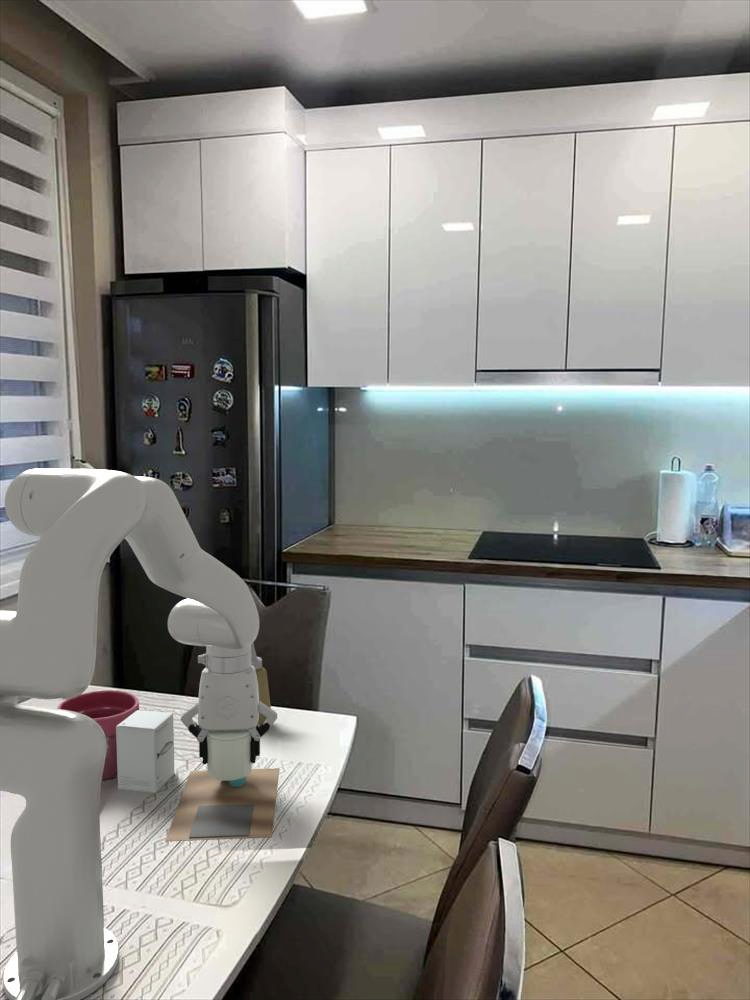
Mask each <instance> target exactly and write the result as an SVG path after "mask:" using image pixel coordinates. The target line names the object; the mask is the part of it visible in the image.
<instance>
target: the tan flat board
mask: <svg viewBox="0 0 750 1000" xmlns="http://www.w3.org/2000/svg"><path fill="white" fill-rule="evenodd" d="M279 775H280V768H279V767H278V768H277V767H275V768H252V772H251V773H250V774H248V775H247V776H246V781H245V783H244V784H243V785H242V786H241V787H233V786H232V785H231V784H230V783H229V781H221V780H217V779H213V778H211V777H210V776H209V775H208V774H207V770H190V771H189V774H188V777H187V780H186V782H185V784H184V788H183V791H182V793H181V796H180V798H179V801H178V803H177V807H176V810H175V812H174V815H173V818H172V820H171V824H170V826H169V829H168V832H167V834H166V837H165V842H182V841H184V842H185V841H187V842H188V841H209V840H210V841H211V840H212V841H214V840H228V839H229V840H234V839H235V840H237V839H260V838H261V839H262V838H263V839H264V838H273V837H272V836H273V828H274V818H275V810H276V803H277V802H276V800H277V794H278V793H277V792H278V783H279Z"/></svg>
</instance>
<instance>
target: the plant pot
mask: <svg viewBox="0 0 750 1000" xmlns="http://www.w3.org/2000/svg"><path fill="white" fill-rule="evenodd" d="M56 709H62V710H69V711H73V712H77V713H80V714H83V715H86V716H88V717H90V718H92V719H93V720H94V721H96V722H97V723H98V724H99V725H100V727H101V728H102V730H103V732H104V734H105V738H106V757H105V763H104V769H103V774H102V781H106V780H111V779H113V778H114V777H118V772H117V741H116V726H117V725H119V724H120V723H121V722H122V721H124V720H125V719H126V718H128V717H129V716H130V715H132V714H133V713H134V712H135V711H137V710H140V701H139V698H138V697H137V696H136V695H135V694H133V693H131V692H129V691H128V692H127V691H125V690H124V691H122V690H117V689H116V690H115V689H114V690H113V689H112V690H111V689H109V690H107V689H106V690H103V689H102V690H94V691H88V692H85V693H84V692H83V693H82V694H80V695H78V696H76V697H74V698H71V699H66V700H62V701H61V702H60V703H59V704H58V706H57V707H56ZM102 781H101V782H102Z"/></svg>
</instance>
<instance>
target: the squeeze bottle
mask: <svg viewBox="0 0 750 1000" xmlns="http://www.w3.org/2000/svg"><path fill="white" fill-rule="evenodd" d="M251 665H252V666H254V667H255V671H256V675H257V681H258V690H259V701H261V702H262V703H264V704H265V705H266V706H268V707H269V708H271V709H272V705H271V700H270V689H269V681H268V671H267V670H266V668H265V667H263V659H262V657H260V656H257V652H256V649H255V644H254V642H253V643H252V644H251ZM266 719H267V717H266V716H265V715H263V714H262V713H260V712H259V720H258V725H259V726H260V725H261V724H262V723H263V722H264V721H266Z"/></svg>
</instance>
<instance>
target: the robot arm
mask: <svg viewBox="0 0 750 1000" xmlns="http://www.w3.org/2000/svg"><path fill="white" fill-rule="evenodd" d="M179 502H180V501H178V499H177V496H176V495H175V493H174V491H173V490H172V488H171V487H170V486H169V484H167V483H166V482H165V481H163V480H161V479H159V478H156V477H155V478H154V477H150V476H136V475H132V474H130V473H127V472H123V471H119V470H112V469H110V470H109V469H96V468H95V469H93V468H90V469H89V468H52V467H51V468H49V467H48V468H37V467H36V468H32V469H27V470H25V471H23V472H20V473H18V475H17V476H16V477H14V479H12V481H11V482H10V484H9V485H8V487H7V490H6V491H5V496H4V508H5V509H4V510H5V513H6V515H7V518H8V520H9V522H10V523H11V524H12V525H13V526H14V527H15V528H16V529H17V530H18V531H20V532H21V533H22V534H26V535H28V536H34V537H40V538H39V539H38V540H37V541H36V542H35V543H34V545H33V547H32V548H31V549H30V551H29V553H28V555H26V558H25V560H24V562H23V565H22V567H21V570H20V571H21V572H20V575H19V582H18V583H19V585H18V592H17V593H18V594H17V604H16V611H15V610H0V791H1V792H5V793H10V794H14V795H18V796H22V797H23V798H24V799H25V807H24V809H23V811H22V812H21V814H20V815H19V817H18V818H17V820H16V821H15V823H14V825H13V827H12V830H11V834H10V857H11V869H12V870H11V874H12V890H13V892H12V893H13V907H14V908H13V909H14V926H15V944H16V945H15V946H16V948H15V949H16V952H15V953H14V954H13V955H12V956H11V958H10V959H9V961H8V962H7V964H6V966H5V968H4V971H3V977H2V978H3V979H2V985H3V992H4V994H5V996H6V998H7V999H8V1000H82V999H84V998H86V997H88V996H89V995H91V994H93V993H94V992H96V991H97V990H98V989H99V988H100V987H102V986H104V984H105V983H106V982H107V980H109V978H111V976H112V975H113V974H114V971H115V970H116V968H117V965H118V963H119V957H120V949H119V948H120V947H119V942H118V940H117V937H116V936H115V935H114V934H113V933H112V932H111V930H108V929H107V928H105V915H104V891H103V868H102V867H103V865H102V842H101V841H102V840H101V819H100V818H101V813H100V809H101V808H100V805H101V789H102V774H103V769H104V763H105V757H106V738H105V734H104V732H103V730H102V728H101V727H100V725H99V724H98V723H97V722H96V721H94V720H93V719H92V718H90V717H88V716H86V715H83V714H80V713H77V712H73V711H69V710H62V709H57V708H53V707H46V706H37V705H36V706H35V705H27V704H20V703H18V702H19V701H18V700H19V697H20V698H29V699H35V700H45V701H65V700H66V699H71V698H74V697H76V696H78V695H80V694H84V692H85V691H86V690H87V689H88V688H89V686H90V684H91V682H92V680H93V678H94V674H95V669H96V668H95V667H96V659H97V657H96V656H97V640H98V639H97V637H98V636H97V635H98V633H97V632H98V614H99V613H98V612H99V609H98V607H99V593H100V583H101V579H102V578H101V577H102V575H103V570H104V569H105V566H106V564H107V562H108V560H109V558H111V556H112V554H113V552H114V551H115V549H117V547H118V546H119V545H120V544H121V543H122V542H123V540H125V541H127V543H128V545H129V546H130V547H131V549H132V552H133V553H134V555H135V557H136V558H137V560H138V563H140V565H141V567H142V569H143V570H144V572H145V574H146V576H147V578H148V579H149V581H151V583H153V584H155V585H156V586H158V587H160V588H162V589H164V590H166V591H168V592H171V593H173V594H175V595H178V596H180V597H183V598H185V599H182V600H181V601H179V602H178V603H176V604H175V605H174V606H173V608H172V609H171V611H170V613H169V615H168V618H167V630H168V633H169V634H170V636H171V637H172V639H174V640H175V641H177V642H178V643H181V644H183V645H189V646H198V647H206V648H205V649H206V651H205V653H203V654H200V655H198V656H197V663H198V664H202V665H204V666H205V667H204V669H202V671H201V673H200V674H201V675H200V681H199V690H198V703H196V704H195V705H194V706H193V707H191V708H190V709H188V710H187V711H185V712H184V713H183V714H182V715H181V717H180V721H181V723H182V724H183V725H184V726H185V727H186V728H187V730H188V732H190V734H191V735H192V736H193V737H194V738H196V740H197V742H198V753H199V754H198V756H199V758H202V765H207V734H208V732H209V731H222V730H249V732H250V734H251V735H252V739H251V762H252V764H255V763H256V760H257V757H260V755H261V738H262V737H263V736H264V735H265V734H267V732H268V731H270V729H271V727H272V726H273V725H274V723H275V722H276V721H277V719H278V717H279V716H278V713H277V712H276V711H275V710H274V709H272V707H271V708H269V707H268V706H266V705H265V704H264V703H262V702H261V701H259V690H258V681H257V675H256V671H255V667H254V666H252V665H251V644H252V643H254V642H255V641H256V639H257V637H258V635H259V631H260V616H259V611H258V608H257V607H258V606H257V605H256V602H255V600H254V597H253V595H252V593H251V591H250V588H249V587H248V585H247V583H246V582H245V581H244V580H243V579H242V577H240V575H238V574H237V573H236V572H235V571H234V570H232V569H231V568H230V567H228V566H226V564H224V563H223V562H221V561H220V560H218V559H217V558H215V557H214V556H212V554H210V553H208V552H206V551H205V550H204V549H202V548H201V546H200V544H199V542H198V540H197V538H196V535H195V534H194V532H193V530H192V527H191V525H190V524H189V521H188V518H187V517H186V514H185V513H184V511H183V509H182V507H181V504H180V503H179ZM259 712H260V713H262V714H263V715H265V716H266V717H267V719H266V721H264V722H263V723H262V724H261V725H260V726H259V725H258V720H259ZM196 716H197V722H195V721H194V719H193V718H194V717H196Z"/></svg>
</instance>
